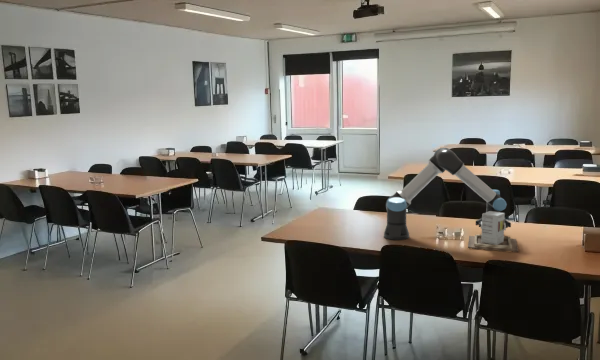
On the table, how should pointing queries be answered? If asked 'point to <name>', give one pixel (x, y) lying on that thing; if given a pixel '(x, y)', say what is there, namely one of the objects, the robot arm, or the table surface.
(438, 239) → the table surface
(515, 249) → the grey brown square tray
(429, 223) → the table surface
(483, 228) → the supplement box
